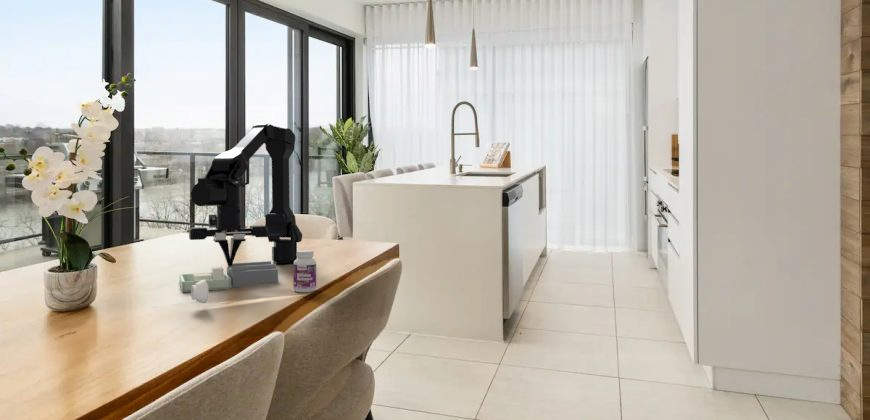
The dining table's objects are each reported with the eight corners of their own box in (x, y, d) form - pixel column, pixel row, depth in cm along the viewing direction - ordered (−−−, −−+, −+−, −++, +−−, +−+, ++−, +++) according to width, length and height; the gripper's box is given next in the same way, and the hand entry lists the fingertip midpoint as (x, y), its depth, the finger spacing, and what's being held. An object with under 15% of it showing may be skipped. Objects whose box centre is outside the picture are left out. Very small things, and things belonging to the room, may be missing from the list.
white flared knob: (209, 304, 119) (209, 281, 119) (194, 306, 117) (194, 282, 117) (204, 300, 123) (204, 278, 123) (190, 302, 121) (190, 279, 121)
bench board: (269, 278, 155) (269, 260, 154) (278, 284, 144) (277, 265, 144) (227, 281, 150) (226, 262, 149) (233, 288, 139) (232, 268, 139)
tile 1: (193, 274, 142) (193, 284, 142) (194, 276, 139) (194, 286, 139) (210, 273, 144) (210, 282, 144) (211, 275, 140) (211, 285, 140)
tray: (224, 280, 150) (224, 271, 150) (231, 288, 138) (231, 278, 138) (179, 284, 145) (179, 274, 145) (182, 292, 133) (182, 282, 133)
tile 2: (221, 266, 145) (211, 267, 144) (223, 268, 141) (212, 269, 140) (221, 282, 145) (211, 282, 144) (223, 284, 141) (213, 285, 140)
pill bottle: (296, 293, 131) (296, 252, 131) (291, 289, 136) (290, 250, 136) (319, 291, 134) (318, 251, 134) (313, 288, 139) (312, 249, 138)
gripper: (260, 204, 155) (261, 260, 156) (187, 205, 147) (188, 264, 147) (268, 205, 145) (269, 265, 146) (189, 206, 137) (191, 269, 137)
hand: (229, 265), depth 144 cm, fingers closed
